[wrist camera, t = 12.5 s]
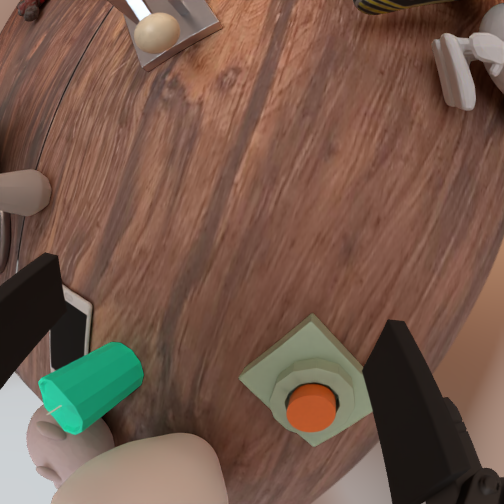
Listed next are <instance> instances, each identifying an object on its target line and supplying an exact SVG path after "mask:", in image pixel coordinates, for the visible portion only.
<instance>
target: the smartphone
mask: <svg viewBox="0 0 504 504" xmlns="http://www.w3.org/2000/svg"><path fill="white" fill-rule="evenodd" d="M62 286H63V292H64V298H65V303H66V308H67V311H66V313H65V314H64V315H63V316H62V317H61V318H60V319H59V320H58V321H57V322H56V323H55V325H54V326H53V327H52V328H51V329H50V370H51V373H52V372H54V371H56V370H58V369H60V368H62V367H64V366H66V365H68V364H70V363H71V362H73V361H75V360H77V359H79V358H81V357H83V356H85V355H87V354H89V339H90V327H91V317H92V304H91V303H90V302H88V301H87V300H85V299H84V298H82V297H81V296H79V295H78V294H76V293H74V292H73V291H71V290H70V289H68V288H67V287H66V286H64V285H63V284H62Z"/></svg>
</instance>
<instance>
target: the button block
mask: <svg viewBox="0 0 504 504" xmlns="http://www.w3.org/2000/svg"><path fill="white" fill-rule="evenodd" d="M362 369H363V366H362V365H361V364H360V363H359V362H358V361H357V360H356V359H355V358H354V357H353V355H352V354H351V353H350V352H349V351H348V350H347V349H346V348H345V347H344V346H343V345H342V344H341V343H340V341H339V340H338V339H337V338H336V337H335V336H334V335H333V334H332V333H331V332H330V331H329V330H328V329H327V328H326V326H325V325H324V324H323V323H322V322H321V321H320V320H319V319H318V318H317V317H316V316H315V315H314V314H313V313H311V314H310V315H309V316H308V317H307V318H306V319H304V320H303V321H302V322H301V323H300V324H298V325H297V326H296V327H295V328H294V329H292V330H291V331H290V332H289V333H288V334H286V335H285V336H284V337H283V338H281V339H280V340H279V341H278V342H276V343H275V344H274V345H273V346H271V347H270V348H269V349H268V350H266V351H265V352H264V353H263V354H261V355H260V356H259V357H257V358H256V359H255V360H254V361H252V362H251V363H250V364H248V365H247V366H246V367H245V368H244V370H243V371H242V373H241V374H240V376H239V380H240V381H241V382H242V383H244V384H245V385H246V386H247V387H248V388H249V389H250V390H251V391H252V392H253V393H254V394H255V395H256V396H257V397H258V398H259V399H260V400H261V401H262V402H263V403H264V404H265V405H266V406H268V407H269V408H270V409H271V410H272V414H273V417H274V418H275V419H276V420H277V421H278V422H279V423H280V424H281V425H282V426H284V427H285V428H286V429H287V430H289V431H292V432H295V433H298V434H299V435H300V436H301V437H302V438H303V439H305V440H306V441H307V442H308V443H309V444H311V445H312V446H313V447H315V446H317V445H319V444H321V443H322V442H324V441H326V440H328V439H329V438H331V437H333V436H335V435H336V434H338V433H340V432H341V431H343V430H345V429H346V428H348V427H349V426H351V425H353V424H354V423H356V422H357V421H359V420H360V419H362V418H363V417H365V416H366V415H368V414H369V413H371V412H372V411H373V410H372V407H371V403H370V399H369V395H368V391H367V388H366V384H365V380H364V377H363V373H362ZM306 384H320V385H323V386H325V387H327V388H329V389H330V390H331V391H332V392H333V394H334V396H335V399H336V416H335V419H334V421H333V422H332V424H331V425H330V426H329V427H327V428H326V429H324V430H322V431H318V432H303V431H300V430H298V429H296V428H294V427H293V426H292V425H291V424H290V423H289V421H288V419H287V416H286V412H287V408H288V404H289V400H290V397H291V395H292V393H293V392H294V391H295V390H296V389H297V388H299V387H300V386H303V385H306Z"/></svg>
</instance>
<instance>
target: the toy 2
mask: <svg viewBox="0 0 504 504" xmlns="http://www.w3.org/2000/svg"><path fill="white" fill-rule="evenodd" d="M431 45H432V51H433V54H434V58H435V62H436V65H437V69H438V73H439V77H440V82H441V86H442V91H443V96H444V99H445V102H446V104H447V105H448V106H452V107H457V108H459V109H462V110H473V108H474V106H475V101H476V95H475V86H474V82H473V79H472V76H471V73H470V70H469V66H470V63H471V61H474V60H480V61H482V62H483V63H484V66H485V68H486V70H487V72H488V74H489V75H490V77H491V79H492V80H493V82H494V83H495V84H496V86H497V87H498V88H499V89H500V90H501V92H502V93H503V94H504V3H500V4H498V5H495V6H493V7H492V8H491V9H490V10H489V11H488V12H487V13H486V14H485V15H484V17H483V19H482V21H481V24H480V27H479V32H478V33H473V34H472V35H471V36H469V38H459V37H455V36H454V35H452V34H449V33H443V34H442V35H441V37H440V39H434V40H433V42H432V44H431Z"/></svg>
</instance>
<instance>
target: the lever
mask: <svg viewBox="0 0 504 504" xmlns="http://www.w3.org/2000/svg"><path fill="white" fill-rule="evenodd" d="M126 2H127V3H128V5H129V6H130V8H131V9H132V11H133V12H134V14H135V15H136V17H137V18H138V20H139V21H140V22H139V23H138V25H137V26H136V28H135V31H134V40H135V43H136V45H137V46H138V47H139V48H140V49H141V50H142V51H144V52H146V53H150V54H158V53H162V52H165V51H167V50H169V49H170V48H172V47H173V46H174V45H175V44H176V42H177V41H178V39H179V36H180V26H179V23H178V21H177V20H176V19H175V18H174V17H173V16H171V15H169V14H166V13H153V12H152V10H151V9H150V7H149V6H148V4H147V3H146V1H145V0H126Z"/></svg>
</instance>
